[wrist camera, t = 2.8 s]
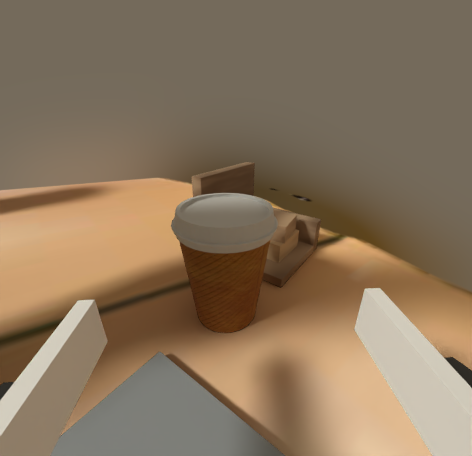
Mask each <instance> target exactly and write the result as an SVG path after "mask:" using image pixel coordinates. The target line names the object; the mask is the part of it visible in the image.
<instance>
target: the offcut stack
mask: <svg viewBox="0 0 472 456" xmlns="http://www.w3.org/2000/svg"><path fill="white" fill-rule="evenodd" d="M273 211H274V216H275V217H276V219H277V222H278V226H277V229H276V231H275V233H274V235H273V237H272V238H271V240H270V245H269V249H268V254H267V259H269V260H272V261H274V262H277V263H279V262H280V261H281V260H283V259H284V258H285V257H286V256H287V255H288V254H289V253H290V252H291V251H292V250H293V249H294V248H295V247H296V246H297V244H298V236H299V230H296V220H297V214H292V213H287V212H282V211H276V210H273Z"/></svg>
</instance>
